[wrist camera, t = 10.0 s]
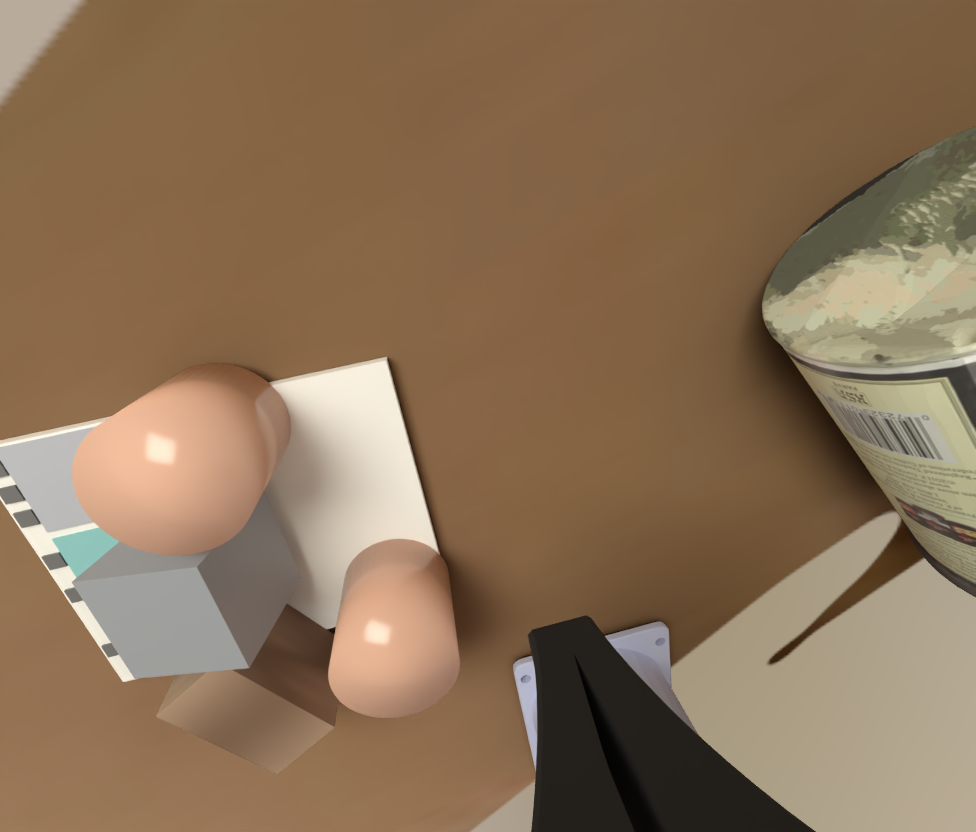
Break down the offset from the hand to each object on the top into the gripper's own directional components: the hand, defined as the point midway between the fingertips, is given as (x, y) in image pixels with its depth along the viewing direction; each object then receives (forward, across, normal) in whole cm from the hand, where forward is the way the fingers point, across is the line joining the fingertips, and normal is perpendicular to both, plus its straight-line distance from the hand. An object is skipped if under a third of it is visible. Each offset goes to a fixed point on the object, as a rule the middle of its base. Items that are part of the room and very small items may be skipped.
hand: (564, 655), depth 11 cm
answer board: (+10, +10, 0) cm, 14 cm away
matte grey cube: (+9, +10, 0) cm, 14 cm away
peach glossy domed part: (+9, +9, -4) cm, 14 cm away
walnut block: (+9, +10, +6) cm, 15 cm away
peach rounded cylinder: (+9, +5, +4) cm, 12 cm away
